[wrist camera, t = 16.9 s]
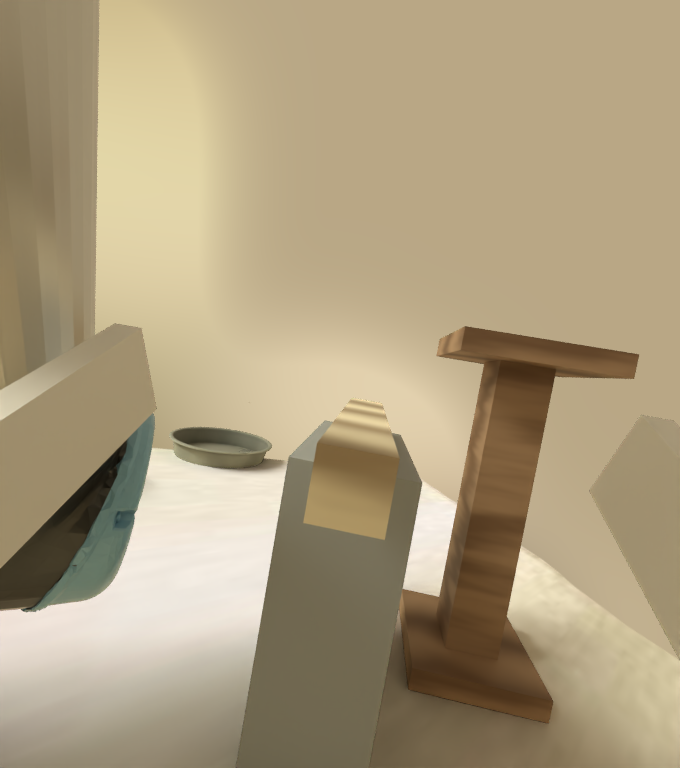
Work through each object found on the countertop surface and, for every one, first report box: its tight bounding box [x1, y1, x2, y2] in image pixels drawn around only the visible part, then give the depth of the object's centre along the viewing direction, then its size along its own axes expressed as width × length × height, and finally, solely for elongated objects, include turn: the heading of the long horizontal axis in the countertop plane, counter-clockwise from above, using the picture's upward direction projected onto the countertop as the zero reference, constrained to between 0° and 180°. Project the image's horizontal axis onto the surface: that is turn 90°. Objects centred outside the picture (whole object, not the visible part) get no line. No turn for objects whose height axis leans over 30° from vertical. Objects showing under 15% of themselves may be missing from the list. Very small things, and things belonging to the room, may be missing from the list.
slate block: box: [236, 421, 422, 768], centre depth 31 cm, size 17×8×21 cm, turn 175°
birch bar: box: [303, 398, 400, 540], centre depth 25 cm, size 24×3×3 cm, turn 175°
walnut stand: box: [399, 326, 639, 723], centre depth 38 cm, size 12×14×32 cm
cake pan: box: [169, 427, 272, 468], centre depth 94 cm, size 25×25×4 cm
